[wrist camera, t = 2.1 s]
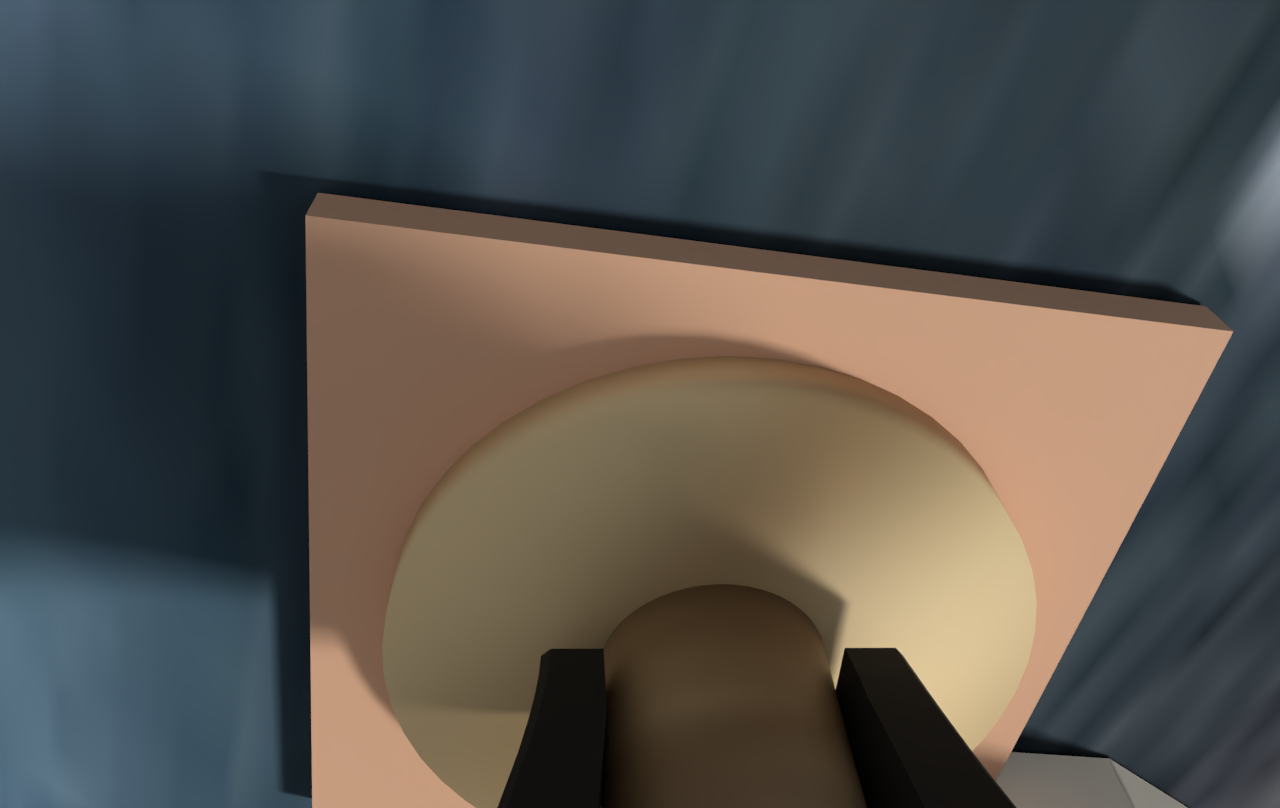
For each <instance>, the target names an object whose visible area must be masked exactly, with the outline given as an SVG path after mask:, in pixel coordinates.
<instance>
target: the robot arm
mask: <svg viewBox="0 0 1280 808" xmlns="http://www.w3.org/2000/svg"><path fill="white" fill-rule="evenodd" d="M836 694H837V697H838V701H839V705H840V709H841V712H842V716H843V720H844V724H845V727H846V731H847V735H848V738H849V742H850V746H851V750H852V753H853V757H854V761H855V764H856V768H857V772H858V776H859V779H860V783H861V787H862V790H863V794H864V798H865V802H866V805H867V808H1016V806H1015V805H1014V804H1013V803H1012V801H1011V800H1010V799H1009V798H1008V796H1007V795H1006V794H1005V793H1004V791H1003V790H1002V789H1001V788H1000V786H999V785H998V784H997V782H996V781H995V780H994V779H993V777H992V776H991V775H990V774H989V772H988V771H987V770H986V769H985V767H984V766H983V765H982V764H981V762H980V761H979V760H978V758H977V757H976V756H975V754H974V753H973V752H972V750H971V749H970V748H969V746H968V745H967V744H966V742H965V741H964V740H963V738H962V737H961V736H960V734H959V733H958V732H957V730H956V729H955V728H954V726H953V725H952V724H951V722H950V721H949V720H948V718H947V717H946V715H945V714H944V713H943V711H942V710H941V708H940V707H939V706H938V704H937V703H936V702H935V700H934V699H933V697H932V696H931V695H930V693H929V692H928V690H927V689H926V687H925V686H924V685H923V683H922V682H921V680H920V679H919V678H918V676H917V675H916V673H915V672H914V670H913V669H912V668H911V666H910V665H909V663H908V662H907V660H906V659H905V657H904V656H903V655H902V654H901V653H900V652H899V651H898V650H897V649H896V648H845V649H844V654H843V658H842V663H841V668H840V672H839V677H838V681H837V686H836ZM606 702H607V701H606V682H605V665H604V649H550V650H548V651H547V652H546V653H544V654H543V655H541V660H540V669H539V676H538V681H537V686H536V691H535V696H534V700H533V704H532V708H531V711H530V715H529V719H528V722H527V725H526V728H525V732H524V735H523V738H522V741H521V744H520V748H519V751H518V754H517V756H516V759H515V762H514V764H513V767H512V770H511V772H510V775H509V778H508V781H507V783H506V786H505V789H504V791H503V794H502V797H501V799H500V802H499V805H498V807H497V808H601V806H602V802H601V797H602V780H603V764H604V744H605V723H606Z"/></svg>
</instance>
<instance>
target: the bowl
mask: <svg viewBox="0 0 1280 808" xmlns="http://www.w3.org/2000/svg"><path fill="white" fill-rule="evenodd" d="M996 782H997V784H998V785H999V786H1000V788H1001V789H1002V790H1003V791H1004V793H1005V794H1006V795H1007V796H1008V798H1009V799H1010V800H1011V801H1012V803H1013V804H1014V805H1015V806H1016V808H1187V807H1186V806H1184V805H1183V804H1181V803H1180V802H1178V801H1176V800H1175V799H1173V798H1172V797H1170V796H1168V795H1167V794H1165V793H1164V792H1162V791H1160V790H1159V789H1157V788H1156V787H1154V786H1152V785H1151V784H1149V783H1148V782H1146V781H1144V780H1143V779H1141V778H1140V777H1138V776H1136V775H1135V774H1133V773H1132V772H1130V771H1128V770H1127V769H1125V768H1124V767H1122V766H1120V765H1119V764H1117V763H1116V762H1114V761H1112V760H1111V759H1110V758H1094V757H1079V756H1064V755H1049V754H1034V753H1019V752H1011V753H1010V755H1009V757H1008V759H1007V761H1006V763H1005V765H1004V767H1003V769H1002V770H1001V772H1000V774H999V776H998V778H997V780H996Z"/></svg>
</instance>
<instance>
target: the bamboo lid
mask: <svg viewBox="0 0 1280 808" xmlns="http://www.w3.org/2000/svg"><path fill="white" fill-rule="evenodd" d="M1036 606H1037V600H1036V592H1035V585H1034V578H1033V571H1032V568H1031V565H1030V562H1029V559H1028V556H1027V553H1026V550H1025V547H1024V544H1023V541H1022V539H1021V537H1020V535H1019V533H1018V532H1017V530H1016V528H1015V526H1014V524H1013V522H1012V521H1011V519H1010V517H1009V515H1008V513H1007V511H1006V510H1005V508H1004V506H1003V504H1002V502H1001V500H1000V499H999V497H998V495H997V493H996V492H995V490H994V488H993V486H992V485H991V483H990V481H989V479H988V477H987V476H986V474H985V472H984V470H983V469H982V467H981V466H980V465H979V464H978V463H977V461H976V460H975V459H974V458H973V456H972V455H971V454H970V453H969V452H968V450H967V449H966V448H965V447H964V446H963V444H962V443H961V442H960V441H959V440H958V439H957V438H956V437H954V436H953V435H952V434H951V433H950V432H949V431H947V430H946V429H945V428H944V427H943V426H942V425H941V424H939V423H938V422H937V421H936V420H935V419H934V418H933V417H931V416H929V415H928V414H926V413H925V412H923V411H922V410H920V409H918V408H917V407H915V406H914V405H912V404H910V403H909V402H907V401H906V400H904V399H903V398H901V397H899V396H897V395H895V394H893V393H891V392H889V391H886V390H884V389H882V388H880V387H877V386H875V385H873V384H871V383H869V382H866V381H864V380H862V379H859V378H856V377H852V376H849V375H846V374H842V373H839V372H836V371H832V370H829V369H826V368H822V367H819V366H814V365H808V364H802V363H796V362H790V361H784V360H779V359H771V358H752V357H733V356H721V357H705V358H689V359H676V360H671V361H665V362H659V363H654V364H648V365H642V366H637V367H631V368H628V369H624V370H621V371H618V372H614V373H611V374H607V375H604V376H601V377H597V378H594V379H590V380H587V381H584V382H582V383H580V384H577V385H575V386H573V387H570V388H568V389H566V390H563V391H561V392H559V393H556V394H554V395H552V396H549V397H547V398H545V399H543V400H541V401H539V402H537V403H536V404H534V405H532V406H530V407H529V408H527V409H525V410H524V411H522V412H520V413H518V414H517V415H515V416H513V417H511V418H510V419H508V420H506V421H505V422H503V423H502V424H501V425H499V426H498V427H497V428H496V429H494V430H493V431H492V432H490V433H489V434H488V435H486V436H485V437H484V438H482V439H481V440H480V441H478V442H477V443H476V444H475V445H473V446H472V447H471V448H470V449H469V450H468V451H467V452H466V453H465V454H464V455H463V456H462V457H461V458H460V459H459V460H458V461H457V462H456V463H455V464H454V465H453V466H452V467H451V468H450V469H449V470H448V471H447V472H446V473H445V474H444V475H443V477H442V478H441V479H440V481H439V482H438V483H437V485H436V486H435V487H434V489H433V490H432V492H431V493H430V494H429V496H428V497H427V498H426V500H425V501H424V502H423V504H422V505H421V507H420V509H419V511H418V513H417V515H416V517H415V519H414V521H413V523H412V525H411V527H410V529H409V531H408V532H407V534H406V537H405V540H404V543H403V546H402V549H401V553H400V556H399V559H398V562H397V565H396V569H395V574H394V578H393V583H392V588H391V593H390V597H389V602H388V607H387V611H386V618H385V626H384V634H383V641H382V653H383V670H384V678H385V682H386V686H387V690H388V694H389V698H390V702H391V706H392V708H393V710H394V713H395V715H396V717H397V719H398V721H399V724H400V726H401V728H402V730H403V732H404V734H405V736H406V737H407V739H408V740H409V742H410V743H411V745H412V746H413V748H414V749H415V751H416V752H417V753H418V755H419V756H420V758H421V759H422V760H423V761H424V762H425V763H426V765H427V766H428V767H429V768H430V769H431V770H432V771H433V772H434V773H435V774H436V775H437V777H438V778H439V779H440V780H441V781H442V782H443V783H445V784H446V785H447V786H448V787H449V788H451V789H452V790H453V791H454V792H455V793H457V794H458V795H459V796H460V797H461V798H463V799H464V800H465V801H466V802H468V803H470V804H471V805H473V806H474V807H476V808H497V807H498V805H499V802H500V799H501V797H502V794H503V791H504V789H505V786H506V783H507V781H508V778H509V775H510V772H511V770H512V767H513V764H514V762H515V759H516V756H517V754H518V751H519V748H520V744H521V741H522V738H523V735H524V732H525V728H526V725H527V722H528V719H529V715H530V711H531V708H532V704H533V700H534V696H535V691H536V686H537V681H538V676H539V669H540V660H541V655H543V654H544V653H546V652H547V651H548V650H550V649H604V665H605V682H606V701H607V702H606V723H605V744H604V764H603V780H602V797H601V802H602V806H601V808H867V805H866V802H865V798H864V794H863V790H862V787H861V783H860V779H859V776H858V772H857V768H856V764H855V761H854V757H853V753H852V750H851V746H850V742H849V738H848V735H847V731H846V727H845V724H844V720H843V716H842V712H841V709H840V705H839V701H838V697H837V694H836V686H837V681H838V677H839V672H840V668H841V663H842V658H843V654H844V649H845V648H896V649H897V650H898V651H899V652H900V653H901V654H902V655H903V656H904V657H905V659H906V660H907V662H908V663H909V665H910V666H911V668H912V669H913V670H914V672H915V673H916V675H917V676H918V678H919V679H920V680H921V682H922V683H923V685H924V686H925V687H926V689H927V690H928V692H929V693H930V695H931V696H932V697H933V699H934V700H935V702H936V703H937V704H938V706H939V707H940V708H941V710H942V711H943V713H944V714H945V715H946V717H947V718H948V720H949V721H950V722H951V724H952V725H953V726H954V728H955V729H956V730H957V732H958V733H959V734H960V736H961V737H962V738H963V740H964V741H965V742H966V744H967V745H968V746H969V748H970V749H971V750H972V751H973V750H974V749H975V748H976V747H977V746H978V745H979V744H980V743H981V741H982V740H983V739H984V738H985V736H986V735H987V734H988V733H989V731H990V730H991V729H992V728H993V726H994V725H995V724H996V723H997V721H998V720H999V719H1000V717H1001V716H1002V714H1003V712H1004V711H1005V709H1006V707H1007V706H1008V704H1009V702H1010V701H1011V699H1012V697H1013V696H1014V694H1015V692H1016V691H1017V688H1018V686H1019V683H1020V681H1021V678H1022V676H1023V674H1024V671H1025V669H1026V666H1027V664H1028V661H1029V657H1030V652H1031V648H1032V644H1033V639H1034V635H1035V626H1036Z"/></svg>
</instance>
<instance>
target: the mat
mask: <svg viewBox="0 0 1280 808" xmlns="http://www.w3.org/2000/svg"><path fill="white" fill-rule="evenodd" d="M305 223H306V310H307V397H308V484H309V571H310V658H311V745H312V808H476V807H474V806H473V805H471V804H470V803H468V802H466V801H465V800H464V799H463V798H461V797H460V796H459V795H458V794H457V793H455V792H454V791H453V790H452V789H451V788H449V787H448V786H447V785H446V784H445V783H443V782H442V781H441V780H440V779H439V778H438V777H437V775H436V774H435V773H434V772H433V771H432V770H431V769H430V768H429V767H428V766H427V765H426V763H425V762H424V761H423V760H422V759H421V758H420V756H419V755H418V753H417V752H416V751H415V749H414V748H413V746H412V745H411V743H410V742H409V740H408V739H407V737H406V736H405V734H404V732H403V730H402V728H401V726H400V724H399V721H398V719H397V717H396V715H395V713H394V710H393V708H392V706H391V702H390V698H389V694H388V690H387V686H386V682H385V678H384V670H383V653H382V641H383V634H384V626H385V618H386V611H387V607H388V602H389V597H390V593H391V588H392V583H393V578H394V574H395V569H396V565H397V562H398V559H399V556H400V553H401V549H402V546H403V543H404V540H405V537H406V534H407V532H408V531H409V529H410V527H411V525H412V523H413V521H414V519H415V517H416V515H417V513H418V511H419V509H420V507H421V505H422V504H423V502H424V501H425V500H426V498H427V497H428V496H429V494H430V493H431V492H432V490H433V489H434V487H435V486H436V485H437V483H438V482H439V481H440V479H441V478H442V477H443V475H444V474H445V473H446V472H447V471H448V470H449V469H450V468H451V467H452V466H453V465H454V464H455V463H456V462H457V461H458V460H459V459H460V458H461V457H462V456H463V455H464V454H465V453H466V452H467V451H468V450H469V449H470V448H471V447H472V446H473V445H475V444H476V443H477V442H478V441H480V440H481V439H482V438H484V437H485V436H486V435H488V434H489V433H490V432H492V431H493V430H494V429H496V428H497V427H498V426H499V425H501V424H502V423H503V422H505V421H506V420H508V419H510V418H511V417H513V416H515V415H517V414H518V413H520V412H522V411H524V410H525V409H527V408H529V407H530V406H532V405H534V404H536V403H537V402H539V401H541V400H543V399H545V398H547V397H549V396H552V395H554V394H556V393H559V392H561V391H563V390H566V389H568V388H570V387H573V386H575V385H577V384H580V383H582V382H584V381H587V380H590V379H594V378H597V377H601V376H604V375H607V374H611V373H614V372H618V371H621V370H624V369H628V368H631V367H637V366H642V365H648V364H654V363H659V362H665V361H671V360H676V359H689V358H705V357H721V356H733V357H752V358H771V359H779V360H784V361H790V362H796V363H802V364H808V365H814V366H819V367H822V368H826V369H829V370H832V371H836V372H839V373H842V374H846V375H849V376H852V377H856V378H859V379H862V380H864V381H866V382H869V383H871V384H873V385H875V386H877V387H880V388H882V389H884V390H886V391H889V392H891V393H893V394H895V395H897V396H899V397H901V398H903V399H904V400H906V401H907V402H909V403H910V404H912V405H914V406H915V407H917V408H918V409H920V410H922V411H923V412H925V413H926V414H928V415H929V416H931V417H933V418H934V419H935V420H936V421H937V422H938V423H939V424H941V425H942V426H943V427H944V428H945V429H946V430H947V431H949V432H950V433H951V434H952V435H953V436H954V437H956V438H957V439H958V440H959V441H960V442H961V443H962V444H963V446H964V447H965V448H966V449H967V450H968V452H969V453H970V454H971V455H972V456H973V458H974V459H975V460H976V461H977V463H978V464H979V465H980V466H981V467H982V469H983V470H984V472H985V474H986V476H987V477H988V479H989V481H990V483H991V485H992V486H993V488H994V490H995V492H996V493H997V495H998V497H999V499H1000V500H1001V502H1002V504H1003V506H1004V508H1005V510H1006V511H1007V513H1008V515H1009V517H1010V519H1011V521H1012V522H1013V524H1014V526H1015V528H1016V530H1017V532H1018V533H1019V535H1020V537H1021V539H1022V541H1023V544H1024V547H1025V550H1026V553H1027V556H1028V559H1029V562H1030V565H1031V568H1032V571H1033V578H1034V585H1035V592H1036V600H1037V606H1036V626H1035V635H1034V639H1033V644H1032V648H1031V652H1030V657H1029V661H1028V664H1027V666H1026V669H1025V671H1024V674H1023V676H1022V678H1021V681H1020V683H1019V686H1018V688H1017V691H1016V692H1015V694H1014V696H1013V697H1012V699H1011V701H1010V702H1009V704H1008V706H1007V707H1006V709H1005V711H1004V712H1003V714H1002V716H1001V717H1000V719H999V720H998V721H997V723H996V724H995V725H994V726H993V728H992V729H991V730H990V731H989V733H988V734H987V735H986V736H985V738H984V739H983V740H982V741H981V743H980V744H979V745H978V746H977V747H976V748H975V749H974V750H973V751H972V752H973V753H974V754H975V756H976V757H977V758H978V760H979V761H980V762H981V764H982V765H983V766H984V767H985V769H986V770H987V771H988V772H989V774H990V775H991V776H992V777H993V779H994V780H995V781H996V780H997V778H998V776H999V774H1000V772H1001V770H1002V769H1003V767H1004V765H1005V763H1006V761H1007V759H1008V757H1009V755H1010V753H1011V752H1012V750H1013V748H1014V746H1015V744H1016V742H1017V740H1018V738H1019V736H1020V734H1021V733H1022V731H1023V729H1024V727H1025V725H1026V723H1027V721H1028V719H1029V717H1030V716H1031V714H1032V712H1033V710H1034V708H1035V706H1036V704H1037V702H1038V700H1039V698H1040V697H1041V695H1042V693H1043V691H1044V689H1045V687H1046V685H1047V683H1048V681H1049V680H1050V678H1051V676H1052V674H1053V672H1054V670H1055V668H1056V666H1057V664H1058V663H1059V661H1060V659H1061V657H1062V655H1063V653H1064V651H1065V649H1066V647H1067V645H1068V644H1069V642H1070V640H1071V638H1072V636H1073V634H1074V632H1075V630H1076V628H1077V627H1078V625H1079V623H1080V621H1081V619H1082V617H1083V615H1084V613H1085V611H1086V609H1087V608H1088V606H1089V604H1090V602H1091V600H1092V598H1093V596H1094V594H1095V592H1096V591H1097V589H1098V587H1099V585H1100V583H1101V581H1102V579H1103V577H1104V575H1105V574H1106V572H1107V570H1108V568H1109V566H1110V564H1111V562H1112V560H1113V558H1114V556H1115V555H1116V553H1117V551H1118V549H1119V547H1120V545H1121V543H1122V541H1123V539H1124V538H1125V536H1126V534H1127V532H1128V530H1129V528H1130V526H1131V524H1132V522H1133V520H1134V519H1135V517H1136V515H1137V513H1138V511H1139V509H1140V507H1141V505H1142V503H1143V502H1144V500H1145V498H1146V496H1147V494H1148V492H1149V490H1150V488H1151V486H1152V484H1153V483H1154V481H1155V479H1156V477H1157V475H1158V473H1159V471H1160V469H1161V467H1162V466H1163V464H1164V462H1165V460H1166V458H1167V456H1168V454H1169V452H1170V450H1171V449H1172V447H1173V445H1174V443H1175V441H1176V439H1177V437H1178V435H1179V433H1180V431H1181V430H1182V428H1183V426H1184V424H1185V422H1186V420H1187V418H1188V416H1189V414H1190V413H1191V411H1192V409H1193V407H1194V405H1195V403H1196V401H1197V399H1198V397H1199V395H1200V394H1201V392H1202V390H1203V388H1204V386H1205V384H1206V382H1207V380H1208V378H1209V377H1210V375H1211V373H1212V371H1213V369H1214V367H1215V365H1216V363H1217V361H1218V359H1219V358H1220V356H1221V354H1222V352H1223V350H1224V348H1225V346H1226V344H1227V342H1228V341H1229V339H1230V337H1231V335H1232V333H1233V331H1232V330H1231V329H1230V328H1229V327H1228V326H1227V325H1226V324H1225V323H1223V322H1222V321H1221V320H1220V319H1219V318H1218V317H1217V316H1216V315H1215V314H1214V313H1213V312H1212V311H1211V310H1209V309H1208V308H1207V307H1206V306H1200V305H1192V304H1184V303H1176V302H1169V301H1161V300H1153V299H1145V298H1137V297H1130V296H1122V295H1114V294H1106V293H1098V292H1090V291H1083V290H1075V289H1067V288H1059V287H1051V286H1044V285H1036V284H1028V283H1020V282H1012V281H1005V280H997V279H989V278H981V277H973V276H965V275H958V274H950V273H942V272H934V271H926V270H919V269H911V268H903V267H895V266H887V265H880V264H872V263H864V262H856V261H848V260H841V259H833V258H825V257H817V256H809V255H801V254H794V253H786V252H778V251H770V250H762V249H755V248H747V247H739V246H731V245H723V244H716V243H708V242H700V241H692V240H684V239H676V238H669V237H661V236H653V235H645V234H637V233H630V232H622V231H614V230H606V229H598V228H591V227H583V226H575V225H567V224H559V223H551V222H544V221H536V220H528V219H520V218H512V217H505V216H497V215H489V214H481V213H473V212H466V211H458V210H450V209H442V208H434V207H426V206H419V205H411V204H403V203H395V202H387V201H380V200H372V199H364V198H356V197H348V196H341V195H333V194H325V193H317V195H316V197H315V199H314V201H313V203H312V204H311V206H310V208H309V210H308V212H307V214H306V215H305Z"/></svg>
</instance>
